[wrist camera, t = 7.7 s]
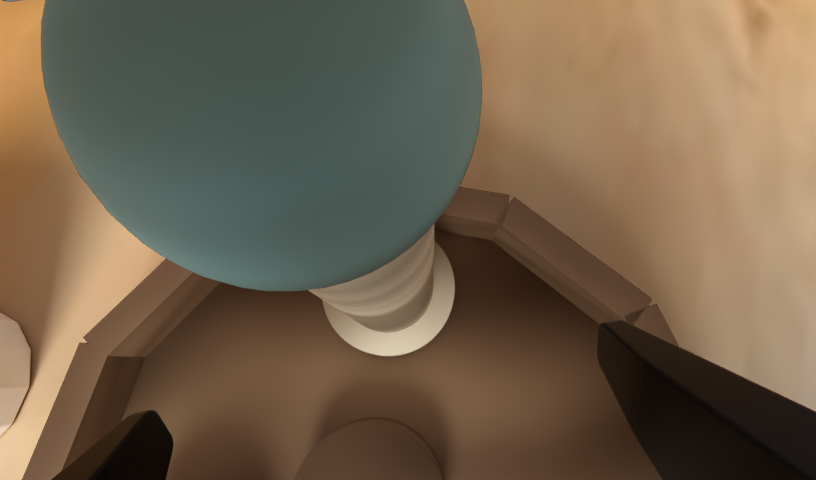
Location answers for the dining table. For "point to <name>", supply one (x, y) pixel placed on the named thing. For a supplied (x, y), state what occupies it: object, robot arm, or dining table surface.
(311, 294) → the walnut tray
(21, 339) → the white cup
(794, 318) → the dining table surface
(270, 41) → the bead post
